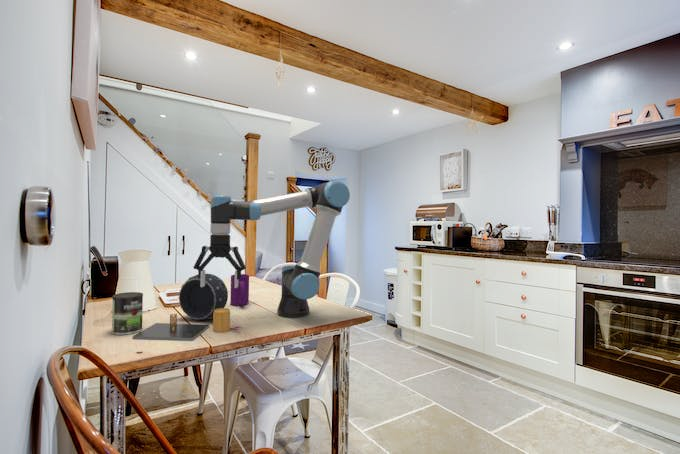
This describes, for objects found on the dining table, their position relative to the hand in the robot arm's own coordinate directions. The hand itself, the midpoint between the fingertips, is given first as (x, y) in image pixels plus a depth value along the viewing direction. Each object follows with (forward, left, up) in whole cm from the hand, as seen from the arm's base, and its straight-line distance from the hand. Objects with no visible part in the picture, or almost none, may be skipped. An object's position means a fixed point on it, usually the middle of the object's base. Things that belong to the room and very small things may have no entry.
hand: (219, 287), depth 141 cm
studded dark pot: (+11, -13, -17) cm, 24 cm away
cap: (-1, +1, -17) cm, 17 cm away
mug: (+3, -38, -17) cm, 42 cm away
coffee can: (+34, +5, -17) cm, 38 cm away
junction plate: (+16, +6, -17) cm, 24 cm away
